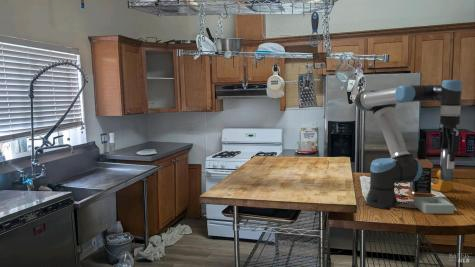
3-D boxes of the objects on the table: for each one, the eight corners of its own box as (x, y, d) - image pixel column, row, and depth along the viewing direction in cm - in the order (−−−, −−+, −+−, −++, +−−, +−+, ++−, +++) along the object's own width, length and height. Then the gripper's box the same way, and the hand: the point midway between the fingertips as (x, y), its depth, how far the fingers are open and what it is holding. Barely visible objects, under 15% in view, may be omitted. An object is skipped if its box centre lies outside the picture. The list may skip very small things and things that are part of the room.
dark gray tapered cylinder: (443, 180, 160) (445, 149, 158) (438, 178, 165) (439, 147, 163) (455, 180, 159) (457, 149, 158) (449, 178, 164) (451, 147, 163)
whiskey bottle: (407, 194, 202) (410, 138, 198) (427, 195, 200) (430, 138, 196) (411, 200, 192) (414, 140, 188) (432, 201, 190) (435, 141, 186)
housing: (424, 215, 169) (425, 205, 168) (413, 206, 182) (413, 196, 181) (453, 215, 168) (454, 205, 168) (439, 206, 181) (440, 196, 181)
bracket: (441, 187, 216) (442, 167, 214) (453, 190, 209) (454, 170, 208) (428, 189, 212) (429, 169, 210) (439, 192, 205) (441, 172, 204)
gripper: (470, 116, 149) (467, 171, 152) (448, 113, 167) (445, 163, 170) (452, 116, 150) (449, 171, 153) (431, 113, 168) (429, 163, 170)
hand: (447, 167), depth 161 cm, fingers closed on dark gray tapered cylinder, 5 cm apart
